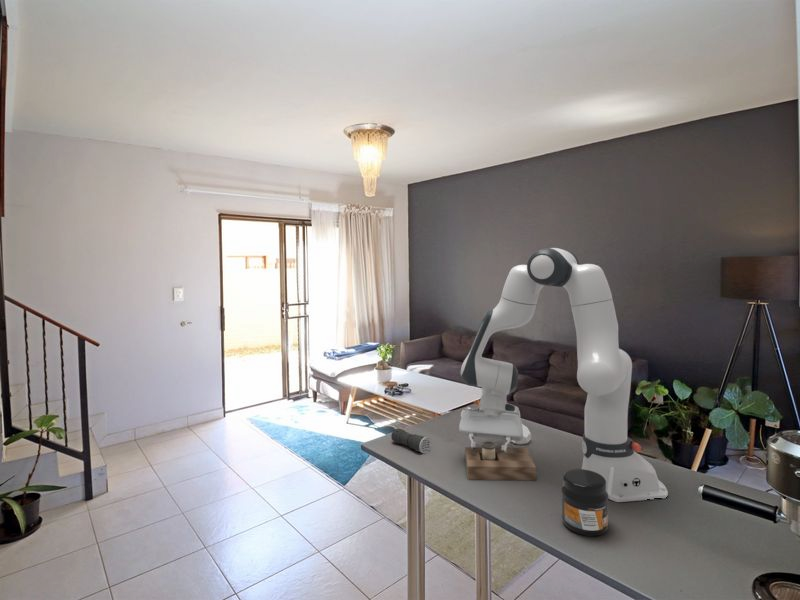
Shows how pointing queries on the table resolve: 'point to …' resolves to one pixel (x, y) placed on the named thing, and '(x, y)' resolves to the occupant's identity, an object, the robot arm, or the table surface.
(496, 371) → the robot arm
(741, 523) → the table surface
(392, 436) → the flashlight
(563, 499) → the supplement container
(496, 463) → the socket block
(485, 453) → the beech pin
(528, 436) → the white faceted prism
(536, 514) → the table surface
